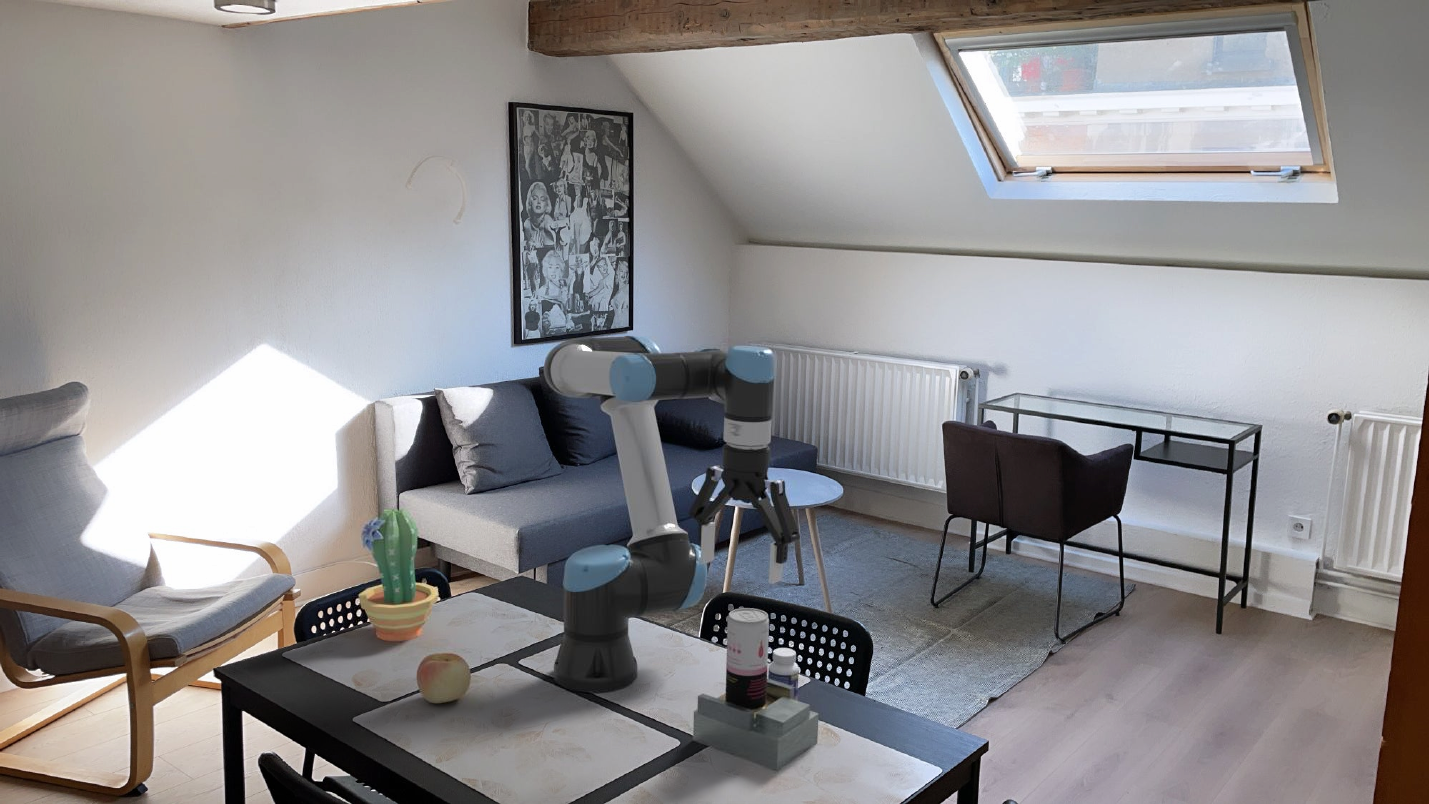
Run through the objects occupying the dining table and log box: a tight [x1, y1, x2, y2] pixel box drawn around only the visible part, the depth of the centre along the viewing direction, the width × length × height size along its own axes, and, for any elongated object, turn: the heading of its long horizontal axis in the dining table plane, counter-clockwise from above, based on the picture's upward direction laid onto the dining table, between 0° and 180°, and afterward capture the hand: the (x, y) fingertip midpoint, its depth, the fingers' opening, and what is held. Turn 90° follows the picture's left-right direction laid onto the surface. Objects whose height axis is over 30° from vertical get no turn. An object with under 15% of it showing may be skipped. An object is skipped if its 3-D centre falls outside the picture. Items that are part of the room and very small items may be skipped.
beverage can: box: [725, 607, 770, 711], centre depth 176 cm, size 6×7×15 cm
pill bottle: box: [767, 647, 800, 701], centre depth 192 cm, size 5×5×9 cm
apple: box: [416, 652, 472, 704], centre depth 188 cm, size 9×9×8 cm
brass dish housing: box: [692, 677, 819, 772], centre depth 176 cm, size 16×13×8 cm
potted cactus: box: [358, 507, 440, 642], centre depth 217 cm, size 15×15×25 cm
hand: (740, 571), depth 179 cm, fingers open, 13 cm apart
